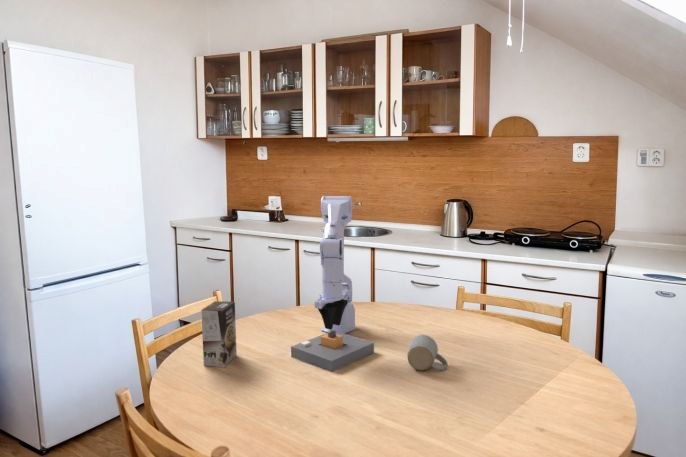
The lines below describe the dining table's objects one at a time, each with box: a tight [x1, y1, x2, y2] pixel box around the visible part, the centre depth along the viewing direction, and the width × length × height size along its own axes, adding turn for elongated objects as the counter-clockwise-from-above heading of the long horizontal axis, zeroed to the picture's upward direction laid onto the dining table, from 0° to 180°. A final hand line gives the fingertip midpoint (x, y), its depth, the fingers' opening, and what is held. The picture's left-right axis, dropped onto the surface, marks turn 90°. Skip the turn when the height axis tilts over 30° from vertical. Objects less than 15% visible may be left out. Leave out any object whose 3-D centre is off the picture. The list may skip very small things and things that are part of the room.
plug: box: [320, 330, 343, 350], centre depth 154 cm, size 4×5×7 cm
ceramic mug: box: [407, 334, 448, 372], centre depth 145 cm, size 11×8×8 cm
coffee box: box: [201, 300, 238, 368], centre depth 150 cm, size 9×6×16 cm
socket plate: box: [290, 331, 375, 372], centre depth 154 cm, size 18×16×4 cm
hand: (332, 326), depth 153 cm, fingers open, 3 cm apart
